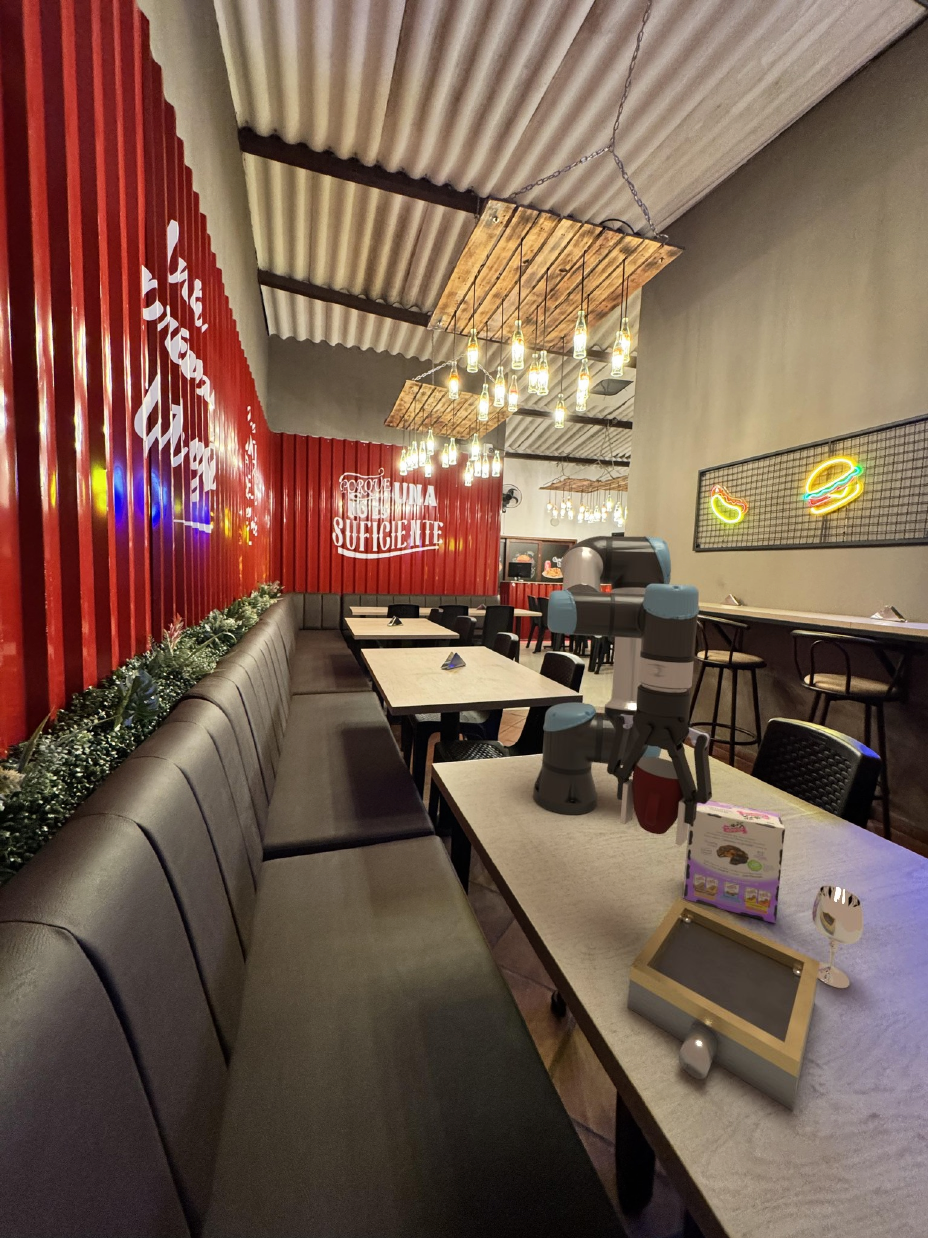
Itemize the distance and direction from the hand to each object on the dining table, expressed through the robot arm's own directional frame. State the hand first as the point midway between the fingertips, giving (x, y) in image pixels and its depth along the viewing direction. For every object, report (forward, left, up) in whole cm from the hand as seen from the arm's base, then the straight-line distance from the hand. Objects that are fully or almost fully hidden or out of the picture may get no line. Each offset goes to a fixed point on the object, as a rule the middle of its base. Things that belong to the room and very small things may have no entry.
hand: (652, 830), depth 77 cm
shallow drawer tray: (+13, -9, -16) cm, 23 cm away
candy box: (+8, +16, -16) cm, 24 cm away
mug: (0, 0, 0) cm, 0 cm away
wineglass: (+23, +9, -16) cm, 29 cm away
